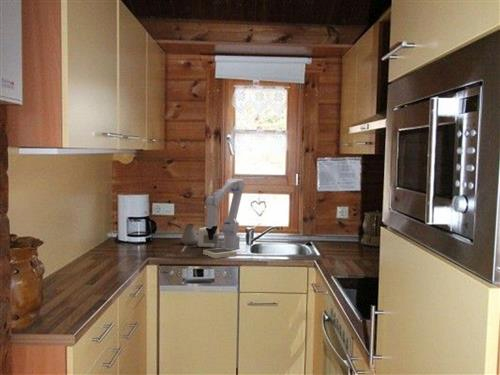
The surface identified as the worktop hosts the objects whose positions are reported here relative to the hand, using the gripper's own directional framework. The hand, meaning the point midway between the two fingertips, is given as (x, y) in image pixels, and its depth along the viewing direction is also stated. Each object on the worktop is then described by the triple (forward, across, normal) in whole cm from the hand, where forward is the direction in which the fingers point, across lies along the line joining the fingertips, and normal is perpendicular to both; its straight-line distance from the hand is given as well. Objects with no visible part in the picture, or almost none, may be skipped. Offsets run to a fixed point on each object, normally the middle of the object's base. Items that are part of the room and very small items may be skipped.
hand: (211, 238), depth 273 cm
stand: (+8, +4, +6) cm, 11 cm away
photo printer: (+9, -19, -7) cm, 22 cm away
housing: (+2, 0, 0) cm, 2 cm away
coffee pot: (+9, -21, -22) cm, 32 cm away
